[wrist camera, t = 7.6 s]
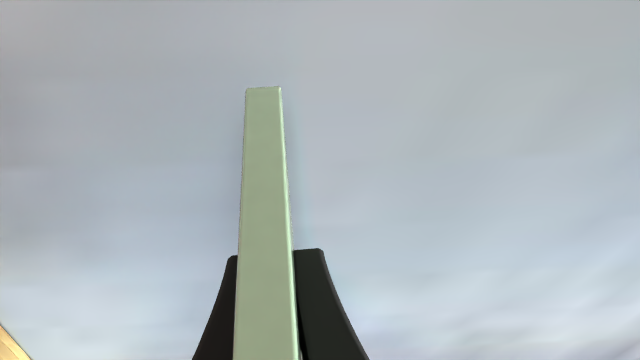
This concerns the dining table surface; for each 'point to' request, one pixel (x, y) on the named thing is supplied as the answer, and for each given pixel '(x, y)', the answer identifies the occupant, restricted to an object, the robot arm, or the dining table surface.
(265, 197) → the sage coaster
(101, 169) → the dining table surface
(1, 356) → the coaster basket
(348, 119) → the dining table surface
